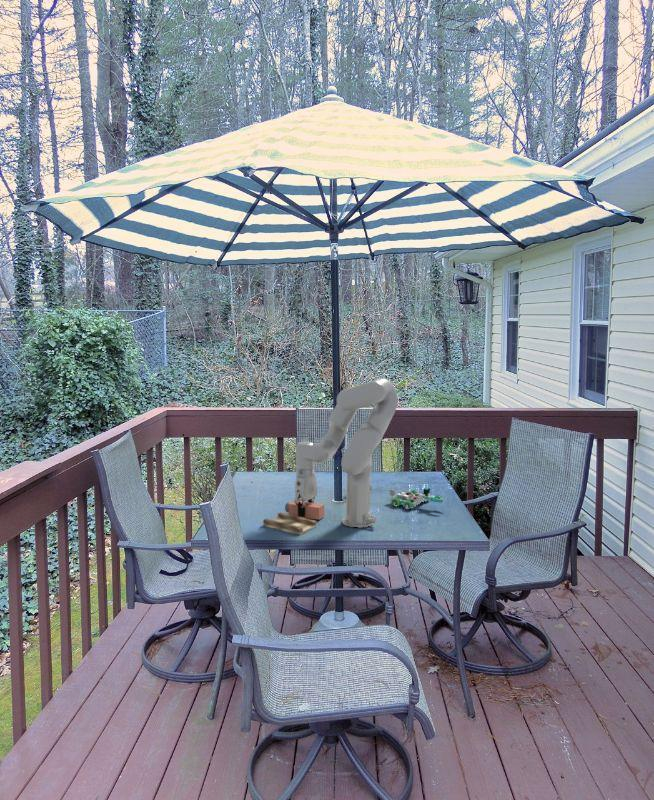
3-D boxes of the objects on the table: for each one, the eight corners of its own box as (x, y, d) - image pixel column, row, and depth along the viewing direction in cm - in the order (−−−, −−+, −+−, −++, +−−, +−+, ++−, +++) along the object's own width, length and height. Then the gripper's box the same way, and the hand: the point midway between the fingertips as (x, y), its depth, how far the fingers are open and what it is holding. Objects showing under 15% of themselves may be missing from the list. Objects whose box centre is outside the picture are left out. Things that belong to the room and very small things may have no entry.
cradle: (316, 527, 237) (316, 520, 236) (300, 535, 228) (300, 528, 227) (280, 518, 246) (280, 512, 246) (263, 525, 237) (263, 519, 237)
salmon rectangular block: (324, 516, 248) (324, 504, 247) (319, 519, 243) (319, 507, 243) (290, 511, 254) (289, 499, 254) (284, 514, 250) (284, 503, 249)
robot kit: (435, 517, 251) (436, 496, 250) (384, 505, 266) (385, 485, 265) (454, 506, 266) (455, 486, 264) (405, 496, 281) (406, 476, 279)
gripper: (300, 477, 237) (301, 521, 239) (324, 468, 251) (324, 510, 254) (285, 475, 241) (286, 518, 244) (309, 466, 255) (310, 507, 258)
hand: (305, 513), depth 249 cm, fingers closed on salmon rectangular block, 5 cm apart
